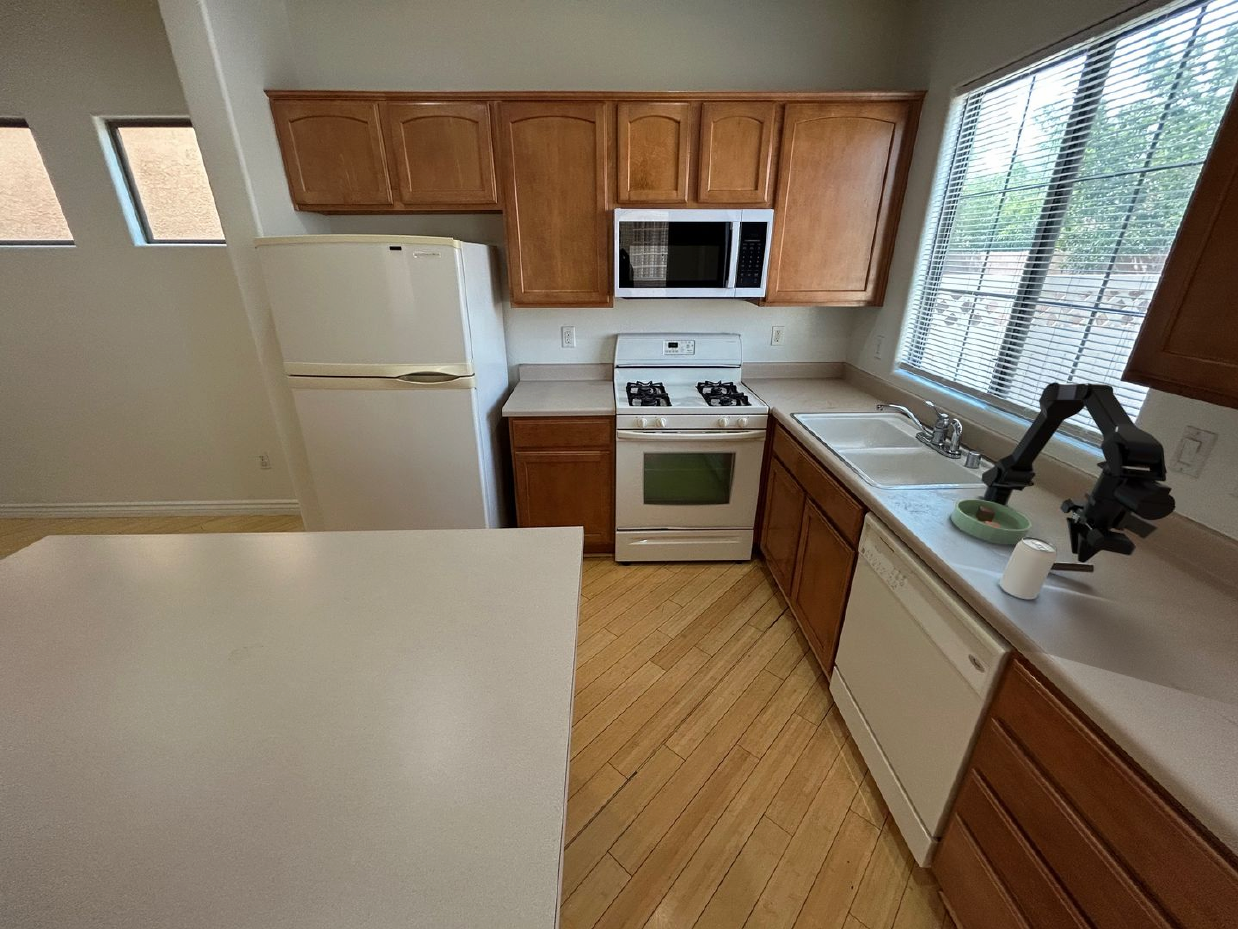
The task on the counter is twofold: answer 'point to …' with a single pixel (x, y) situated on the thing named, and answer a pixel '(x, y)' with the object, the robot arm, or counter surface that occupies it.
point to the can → (1028, 568)
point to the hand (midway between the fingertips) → (1078, 557)
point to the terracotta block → (992, 524)
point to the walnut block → (985, 514)
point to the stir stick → (1072, 566)
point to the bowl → (1008, 519)
